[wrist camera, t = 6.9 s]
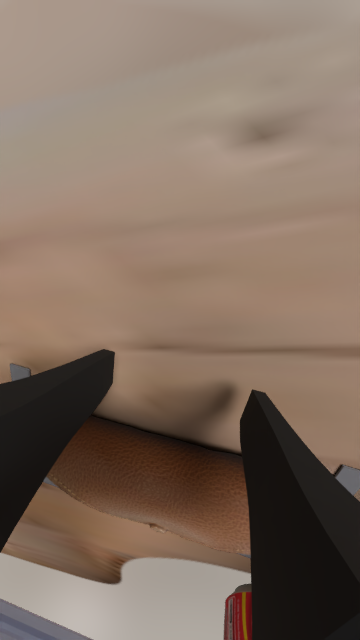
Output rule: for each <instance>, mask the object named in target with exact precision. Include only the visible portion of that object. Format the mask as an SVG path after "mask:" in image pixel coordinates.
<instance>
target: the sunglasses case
mask: <svg viewBox="0 0 360 640" xmlns="http://www.w3.org/2000/svg"><path fill="white" fill-rule="evenodd" d="M46 477H47V478H48V479H49V480H50V481H52V482H53V484H55V485H56V486H58V487H59V488H60V489H61V490H63V491H64V492H66V493H67V494H69V495H70V496H71V497H73V498H75V499H76V500H78V501H80V502H82V503H83V504H85V505H87V506H89V507H92V508H94V509H96V510H98V511H100V512H103V513H106V514H109V515H111V516H116V517H119V518H124V519H128V520H131V521H136V522H139V523H143V524H148V525H150V528H151V529H153V530H155V531H157V532H160V533H165V532H166V531H169V532H171V533H173V534H176V535H179V536H180V537H182V538H185V539H187V540H191V541H195V542H197V543H200V544H202V545H205V546H208V547H210V548H212V549H216V550H220V551H225V552H229V553H231V552H232V553H240V554H246V555H251V551H250V526H249V507H248V497H247V489H246V482H245V474H244V467H243V459H242V457H241V456H238V455H235V454H231V453H224V452H218V451H211V450H207V449H205V448H203V447H200V446H196V445H193V444H189V443H186V442H183V441H179V440H176V439H172V438H169V437H165V436H160V435H156V434H152V433H147V432H143V431H141V430H138V429H136V428H133V427H129V426H126V425H122V424H119V423H115V422H111V421H107V420H104V419H100V418H97V417H93V416H89V418H88V419H87V420H86V421H85V423H84V424H83V425H82V426H81V428H80V429H79V430H78V431H77V433H76V434H75V435H74V436H73V438H72V439H71V440H70V442H69V443H68V444H67V446H66V447H65V449H64V450H63V452H62V453H61V455H60V456H59V458H58V459H57V461H56V462H55V464H54V465H53V467H52V468H51V470H50V471H49V473H48V474H47V476H46Z"/></svg>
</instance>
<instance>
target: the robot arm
mask: <svg viewBox="0 0 360 640" xmlns="http://www.w3.org/2000/svg"><path fill="white" fill-rule="evenodd" d="M114 355H115V352H113V351H109V350H105V349H103V350H100V351H98V352H95V353H92V354H90V355H87V356H85V357H83V358H80V359H77V360H75V361H72V362H70V363H67V364H65V365H62V366H59V367H56V368H54V369H51V370H48V371H45V372H42V373H39V374H36V375H33V376H29V377H26V378H22V379H19V380H15V381H11V382H7V383H3V384H0V552H1V551H2V549H3V547H4V545H5V544H6V542H7V540H8V538H9V537H10V535H11V533H12V531H13V530H14V528H15V526H16V525H17V523H18V521H19V520H20V518H21V516H22V515H23V513H24V511H25V510H26V508H27V506H28V505H29V503H30V501H31V500H32V498H33V497H34V495H35V493H36V492H37V490H38V489H39V487H40V485H41V484H42V482H43V481H44V479H45V478H46V476H47V474H48V473H49V471H50V470H51V468H52V467H53V465H54V464H55V462H56V461H57V459H58V458H59V456H60V455H61V453H62V452H63V450H64V449H65V447H66V446H67V444H68V443H69V442H70V440H71V439H72V438H73V436H74V435H75V434H76V433H77V431H78V430H79V429H80V428H81V426H82V425H83V424H84V423H85V421H86V420H87V419H88V418H89V416H90V415H91V414H92V413H93V411H94V410H95V409H96V408H97V406H98V405H99V404H100V402H101V401H102V400H103V398H104V397H105V395H106V393H107V392H108V390H109V388H110V387H111V385H112V383H113V369H114ZM240 443H241V452H242V459H243V467H244V474H245V482H246V489H247V497H248V507H249V526H250V551H251V591H252V640H360V502H359V501H358V500H357V499H356V498H355V497H354V496H353V495H352V494H351V493H350V492H349V491H348V490H347V489H346V488H345V487H344V486H343V485H342V484H341V483H340V482H339V481H338V480H337V479H336V478H335V477H334V476H333V475H332V474H331V473H330V472H329V471H328V469H327V468H326V467H325V466H324V465H323V464H322V463H321V462H320V461H319V460H318V459H317V458H316V456H315V455H314V454H313V453H312V452H311V451H310V449H309V448H308V447H307V446H306V445H305V444H304V442H303V441H302V440H301V439H300V438H299V436H298V435H297V434H296V433H295V431H294V430H293V429H292V428H291V426H290V425H289V424H288V422H287V421H286V420H285V419H284V417H283V416H282V415H281V413H280V412H279V411H278V409H277V408H276V407H275V405H274V404H273V403H272V401H271V400H270V399H269V397H268V396H267V395H266V393H264V392H260V391H256V390H253V389H252V391H251V394H250V396H249V399H248V402H247V404H246V407H245V409H244V412H243V414H242V417H241V419H240ZM0 640H92V639H90V638H88V637H86V636H83V635H81V634H79V633H77V632H75V631H72V630H70V629H68V628H66V627H63V626H61V625H59V624H56V623H54V622H52V621H50V620H47V619H45V618H43V617H41V616H38V615H36V614H34V613H32V612H29V611H27V610H25V609H22V608H20V607H18V606H16V605H14V604H11V603H9V602H7V601H4V600H2V599H0Z"/></svg>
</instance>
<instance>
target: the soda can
mask: <svg viewBox="0 0 360 640" xmlns="http://www.w3.org/2000/svg"><path fill="white" fill-rule="evenodd" d="M224 640H252V591H251V584H244V585H241V586H239V587H237V588H236V590H235V592H234V593H232V594H231V595H230V596H229V597H228V598H227V599H226V602H225V620H224Z"/></svg>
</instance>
